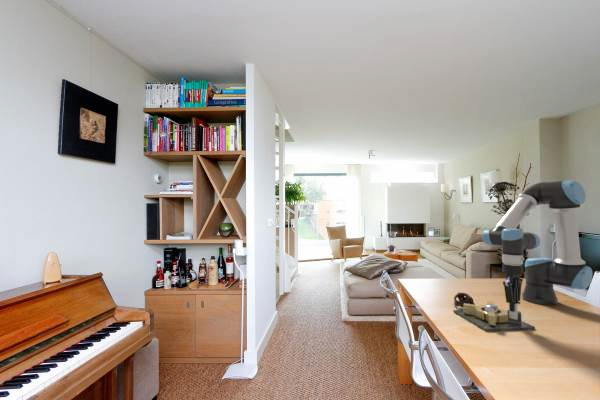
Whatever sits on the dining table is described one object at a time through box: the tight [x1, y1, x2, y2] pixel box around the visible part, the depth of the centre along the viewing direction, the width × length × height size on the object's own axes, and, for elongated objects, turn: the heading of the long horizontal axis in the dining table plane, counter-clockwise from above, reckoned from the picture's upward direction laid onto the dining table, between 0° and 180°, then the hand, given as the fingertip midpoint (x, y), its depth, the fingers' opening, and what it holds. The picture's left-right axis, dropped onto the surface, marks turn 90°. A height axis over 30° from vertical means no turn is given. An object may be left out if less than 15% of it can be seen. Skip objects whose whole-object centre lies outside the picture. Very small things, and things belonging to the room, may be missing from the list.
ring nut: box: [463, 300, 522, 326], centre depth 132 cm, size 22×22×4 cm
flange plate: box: [453, 303, 536, 332], centre depth 132 cm, size 22×22×6 cm
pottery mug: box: [453, 292, 476, 308], centre depth 150 cm, size 12×10×8 cm
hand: (513, 318), depth 126 cm, fingers closed
